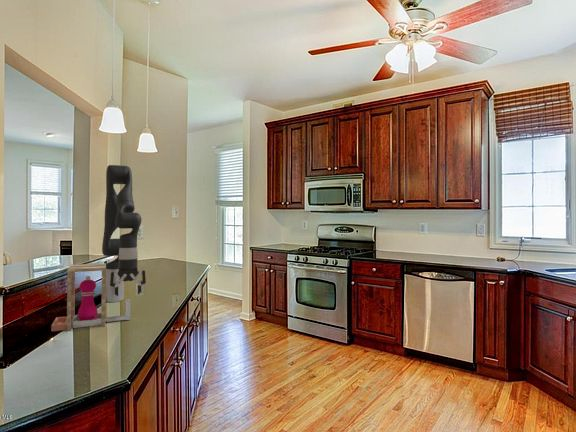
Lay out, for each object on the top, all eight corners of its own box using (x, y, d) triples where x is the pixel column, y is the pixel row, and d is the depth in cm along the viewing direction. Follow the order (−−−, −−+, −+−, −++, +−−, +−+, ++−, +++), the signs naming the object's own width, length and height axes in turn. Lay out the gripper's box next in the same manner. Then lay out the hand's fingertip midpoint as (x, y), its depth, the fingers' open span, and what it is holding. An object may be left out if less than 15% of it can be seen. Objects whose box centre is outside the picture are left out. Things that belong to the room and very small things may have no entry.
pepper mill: (101, 322, 153) (101, 275, 153) (86, 327, 146) (87, 277, 146) (88, 320, 155) (88, 274, 155) (73, 325, 148) (73, 276, 148)
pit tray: (56, 323, 151) (56, 317, 151) (69, 321, 153) (69, 316, 153) (51, 331, 140) (51, 325, 140) (66, 329, 142) (66, 323, 142)
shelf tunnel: (71, 320, 154) (71, 264, 155) (105, 317, 160) (106, 263, 160) (67, 330, 141) (67, 269, 141) (104, 326, 146) (105, 267, 147)
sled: (73, 321, 153) (73, 302, 153) (129, 315, 162) (129, 297, 163) (70, 328, 143) (70, 308, 143) (130, 321, 153) (130, 302, 153)
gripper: (145, 256, 164) (144, 291, 163) (110, 257, 158) (110, 294, 157) (146, 257, 157) (146, 294, 157) (110, 259, 151) (109, 298, 151)
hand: (128, 294), depth 157 cm, fingers open, 8 cm apart
